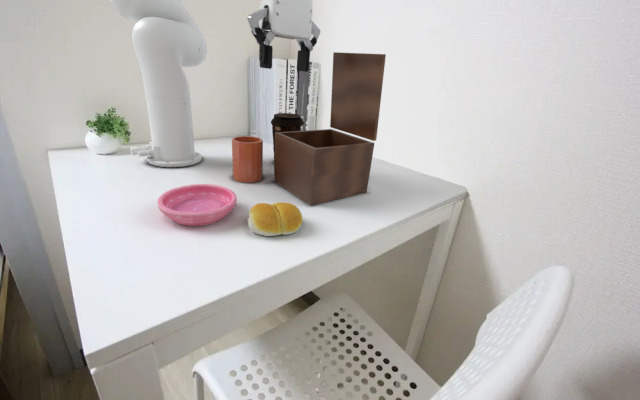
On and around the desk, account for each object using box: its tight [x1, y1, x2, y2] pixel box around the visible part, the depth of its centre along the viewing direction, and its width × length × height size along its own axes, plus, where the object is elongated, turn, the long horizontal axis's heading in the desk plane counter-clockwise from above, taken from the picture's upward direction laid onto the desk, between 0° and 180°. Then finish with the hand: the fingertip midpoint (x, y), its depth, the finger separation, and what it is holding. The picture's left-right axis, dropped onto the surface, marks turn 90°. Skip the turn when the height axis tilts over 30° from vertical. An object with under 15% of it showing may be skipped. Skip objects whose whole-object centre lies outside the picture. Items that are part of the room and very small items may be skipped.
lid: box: [329, 51, 387, 142], centre depth 67 cm, size 16×15×5 cm
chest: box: [273, 128, 375, 206], centre depth 67 cm, size 16×15×11 cm
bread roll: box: [246, 202, 304, 237], centre depth 51 cm, size 8×9×4 cm
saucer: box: [157, 183, 238, 227], centre depth 53 cm, size 12×12×3 cm
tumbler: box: [231, 135, 264, 184], centre depth 69 cm, size 7×7×9 cm
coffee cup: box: [270, 112, 305, 159], centre depth 81 cm, size 9×8×13 cm
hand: (285, 69), depth 63 cm, fingers open, 9 cm apart
